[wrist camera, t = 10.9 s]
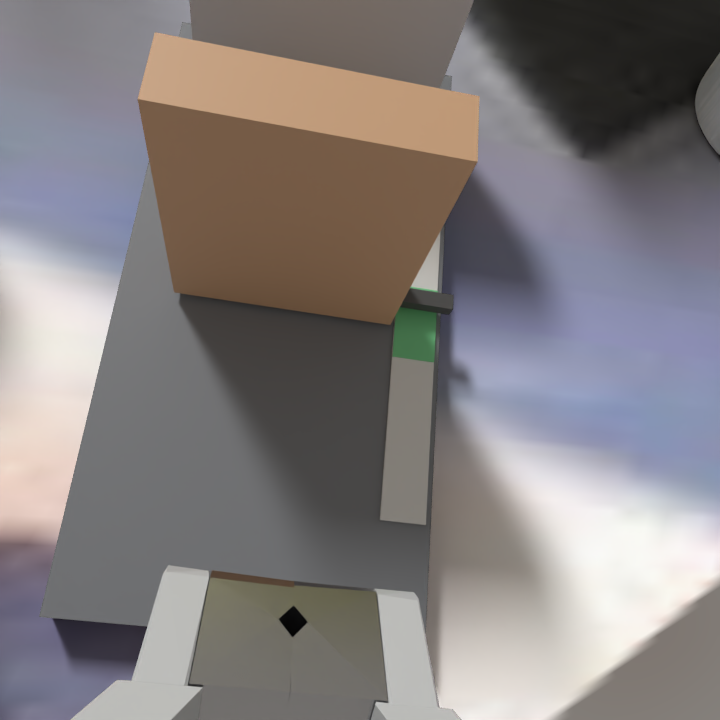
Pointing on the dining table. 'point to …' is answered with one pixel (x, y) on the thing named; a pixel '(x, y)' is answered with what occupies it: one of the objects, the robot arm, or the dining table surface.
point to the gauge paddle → (301, 178)
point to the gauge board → (261, 386)
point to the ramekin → (710, 104)
